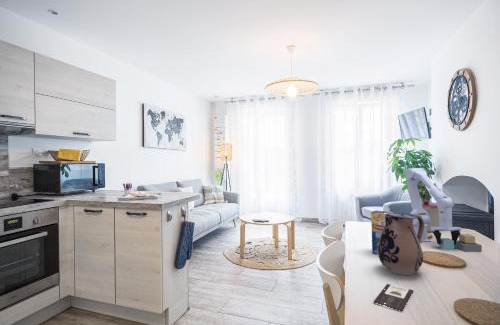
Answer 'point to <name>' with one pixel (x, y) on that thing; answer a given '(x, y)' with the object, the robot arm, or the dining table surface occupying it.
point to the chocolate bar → (394, 297)
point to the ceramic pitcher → (401, 244)
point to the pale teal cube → (447, 244)
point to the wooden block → (467, 239)
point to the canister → (431, 214)
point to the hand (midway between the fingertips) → (446, 244)
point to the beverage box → (377, 228)
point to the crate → (468, 247)
